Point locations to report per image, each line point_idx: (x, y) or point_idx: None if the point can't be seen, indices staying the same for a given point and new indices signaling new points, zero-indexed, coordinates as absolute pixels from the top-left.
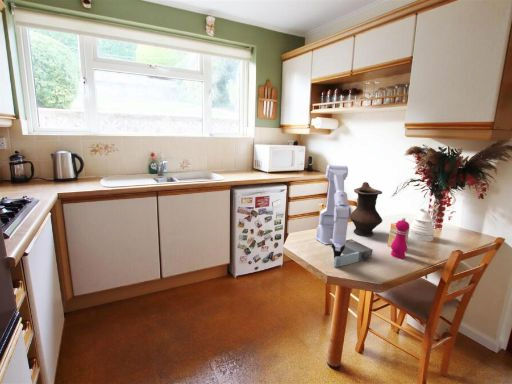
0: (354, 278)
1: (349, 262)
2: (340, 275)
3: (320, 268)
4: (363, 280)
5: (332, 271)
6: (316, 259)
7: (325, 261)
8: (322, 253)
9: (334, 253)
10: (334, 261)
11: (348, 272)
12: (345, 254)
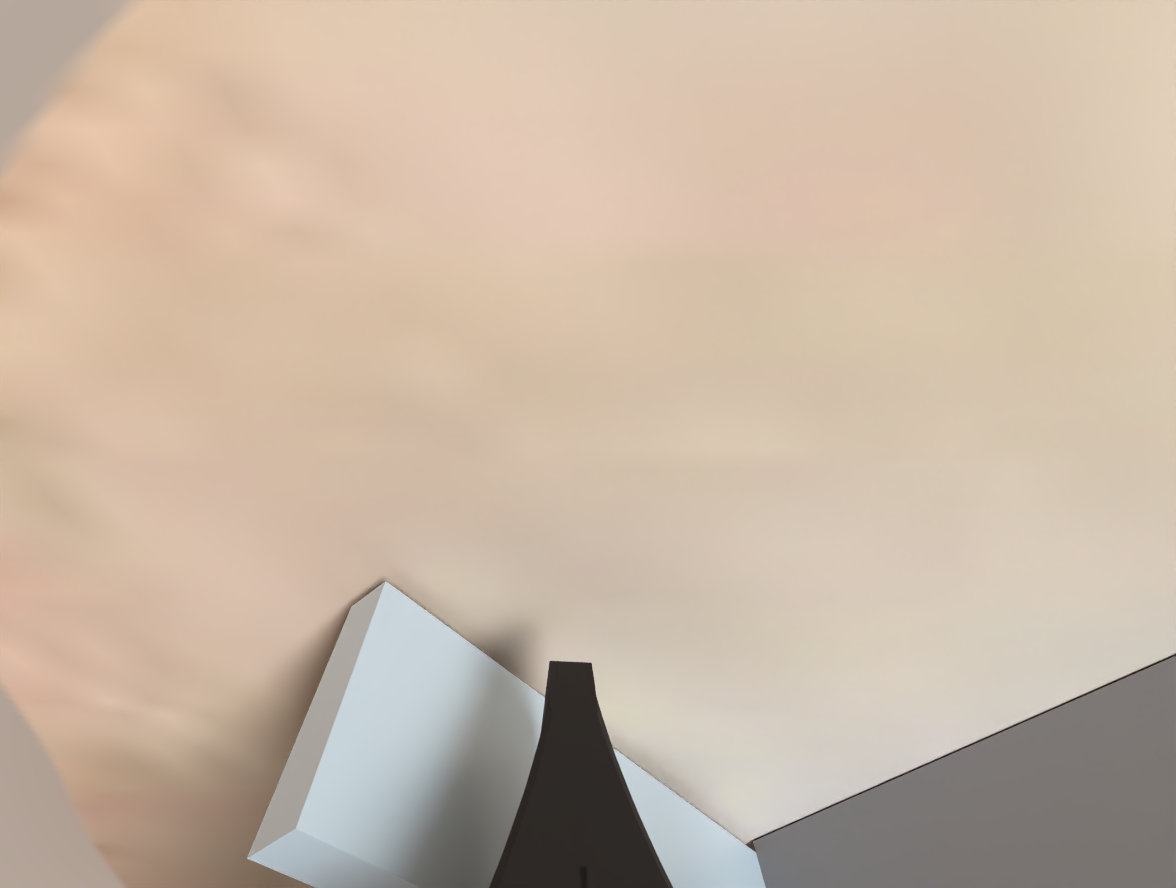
0: (117, 815)
1: None
2: (61, 666)
3: (97, 267)
4: (141, 885)
5: (135, 545)
6: (700, 132)
7: (625, 403)
8: (1142, 328)
9: (509, 855)
10: (345, 685)
11: (286, 761)
12: (1001, 752)
